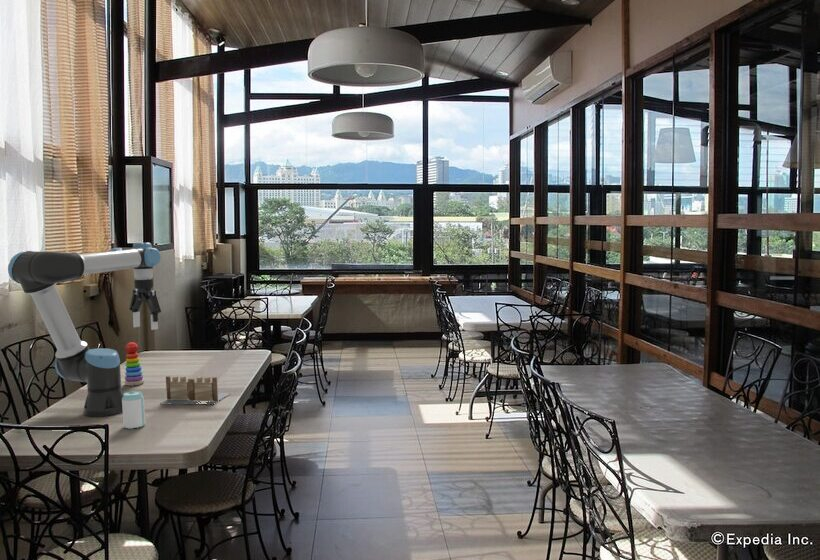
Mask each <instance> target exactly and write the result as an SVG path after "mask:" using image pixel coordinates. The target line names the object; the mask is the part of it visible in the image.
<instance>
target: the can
mask: <svg viewBox="0 0 820 560" xmlns="http://www.w3.org/2000/svg"><path fill="white" fill-rule="evenodd" d="M123 394H124V396H123V398H122V410H123V412H122V422H123V423H122V425H123V427H124V428H126V429H127V428H128V429H127V430H134V429H133V428H137V429H140V428H143V426H145V425H146V416H145V415H146V413H145V399H144V398H145V397H144V395H143V393H142V391H137V390H134V391H128V392H124V393H123ZM139 427H140V428H139Z"/></svg>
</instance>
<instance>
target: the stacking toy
mask: <svg viewBox="0 0 820 560" xmlns="http://www.w3.org/2000/svg"><path fill="white" fill-rule="evenodd" d="M138 349H139V346H138V344H137V343H136V342H133V341H132V342H131V341H130V342H127V344H126V346H125V351H126V352H127V354H125V355H126V356H125V357H126V358H125V362H126V363H125V373H124V374H125V377H124V380H125V381H124V384H125V386H129V387H130V386H132V387H134V385H135V386H139V385H140V386H141V385H142V384H144V383H145V380H144V375H143V370H142V366H141V362H140V358H139V353H138Z"/></svg>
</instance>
